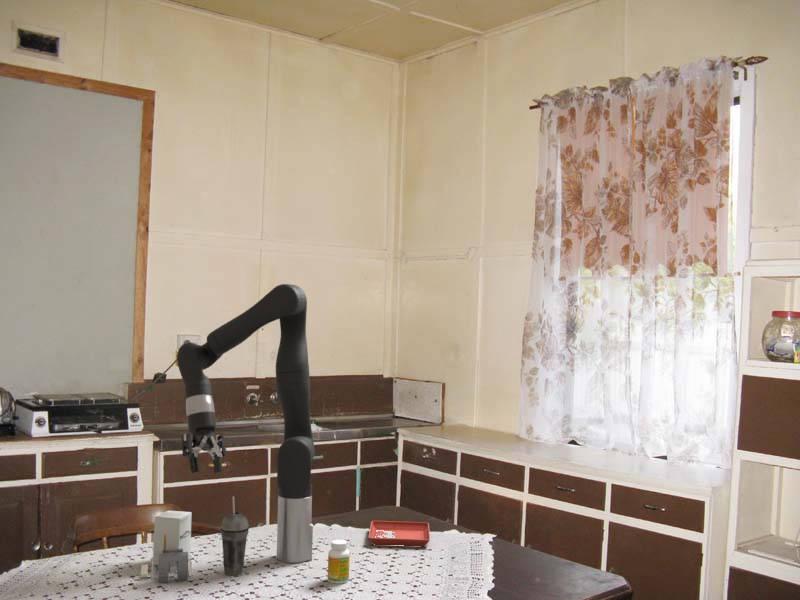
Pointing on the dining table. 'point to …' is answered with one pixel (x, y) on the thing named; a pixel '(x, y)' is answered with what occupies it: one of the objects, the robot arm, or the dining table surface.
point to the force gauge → (163, 567)
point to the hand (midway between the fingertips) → (207, 472)
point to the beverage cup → (234, 542)
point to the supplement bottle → (338, 562)
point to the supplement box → (172, 532)
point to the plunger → (173, 564)
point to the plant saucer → (400, 533)
